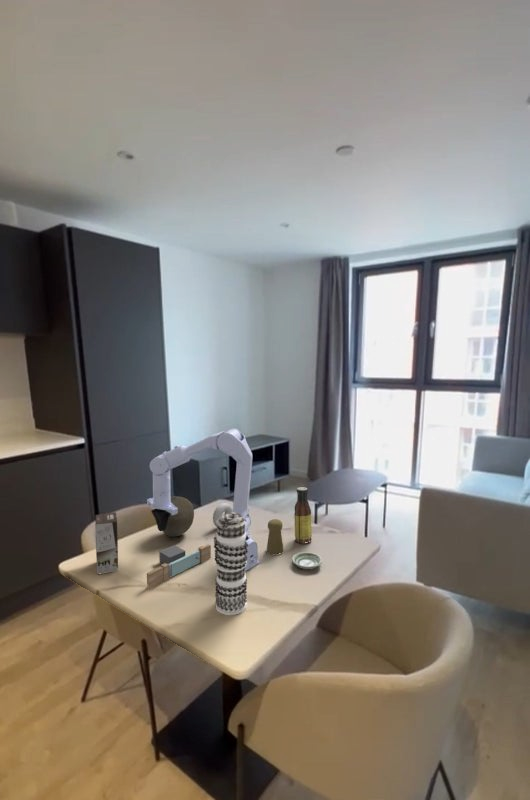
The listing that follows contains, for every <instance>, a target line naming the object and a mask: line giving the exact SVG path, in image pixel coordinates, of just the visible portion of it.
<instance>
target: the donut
mask: <svg viewBox="0 0 530 800" xmlns="http://www.w3.org/2000/svg"><path fill="white" fill-rule="evenodd" d="M232 511H233V507H232V506H231V504H230V503H227V502H222V503H220V504H218V505H217V507H215V509H214V510H213V514H212V515H213V516H212V523H213V525H214V526H215V527H216V528H217V524H216V521H217V520H218V519H219V518H220V517H221V516H222V515H223V513H224V514H225V513H232Z"/></svg>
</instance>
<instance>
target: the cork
mask: <svg viewBox="0 0 530 800" xmlns="http://www.w3.org/2000/svg"><path fill="white" fill-rule="evenodd" d="M283 527H284V525H283V522H282V521H281V520H279V519H275V518H274V519H270V520H269V521H268V523H267V529H268V537H267V543H266V550H267V551H266V553H267V552H268V553H270V554H269V555H271V554H279V553H282V552H283V553H284V545H283V544H284V543H283V535H282V529H283ZM268 553H267V554H268ZM283 553H282V554H283Z"/></svg>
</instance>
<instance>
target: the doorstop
mask: <svg viewBox="0 0 530 800" xmlns="http://www.w3.org/2000/svg"><path fill="white" fill-rule="evenodd" d="M158 555H159V556H158V558H159V563H160V564H161V565H162V564H164V563H166V564H170V563H172V562H174V561H176V560H178V559H180V558H182V557H184V556H186V550H184V549H183V548H180V547H179V546H176V545H175V544H174V545H171V546H169V547H167V548H165V549H162V550H160V551H159V553H158Z"/></svg>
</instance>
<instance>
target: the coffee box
mask: <svg viewBox="0 0 530 800" xmlns="http://www.w3.org/2000/svg"><path fill="white" fill-rule="evenodd" d="M94 525H95V526H94V527H95V528H94V529H95V553H96V574H97V575H100V574H99V573H102V574H106V572H108V573H115V572H117V571H119V543H118V541H119V540H118V536H119V535H118V517H117V512H116V511H114V512H105V513H101V514H95V524H94Z"/></svg>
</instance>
